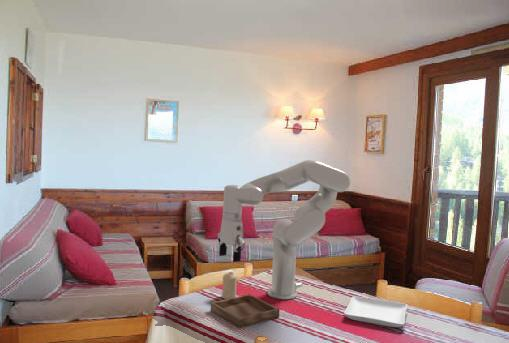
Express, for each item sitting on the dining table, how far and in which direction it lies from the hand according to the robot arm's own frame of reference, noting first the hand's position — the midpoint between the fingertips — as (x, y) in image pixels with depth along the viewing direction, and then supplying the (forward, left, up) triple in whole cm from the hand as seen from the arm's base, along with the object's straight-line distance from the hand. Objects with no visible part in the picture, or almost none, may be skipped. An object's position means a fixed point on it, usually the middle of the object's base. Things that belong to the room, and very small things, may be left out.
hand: (229, 258), depth 181 cm
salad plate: (-36, +45, -17) cm, 60 cm away
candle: (0, 0, -16) cm, 16 cm away
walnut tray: (+5, +17, -16) cm, 24 cm away
